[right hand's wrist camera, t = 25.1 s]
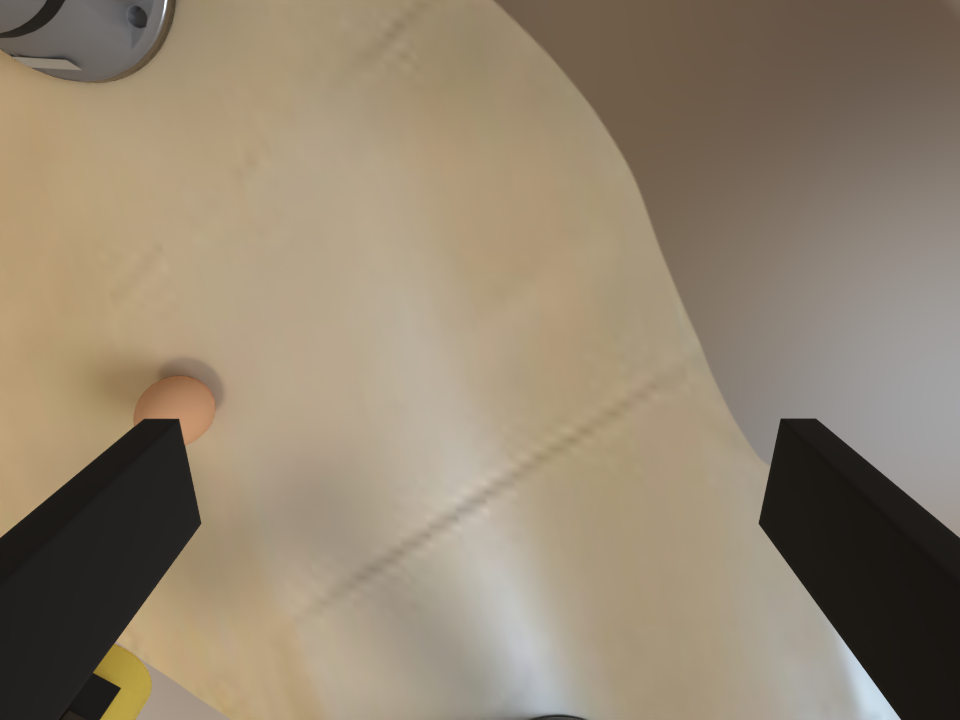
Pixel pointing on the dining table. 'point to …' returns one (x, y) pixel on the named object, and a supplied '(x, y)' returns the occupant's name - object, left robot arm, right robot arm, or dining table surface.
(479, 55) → the dining table surface
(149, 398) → the egg
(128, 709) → the can
